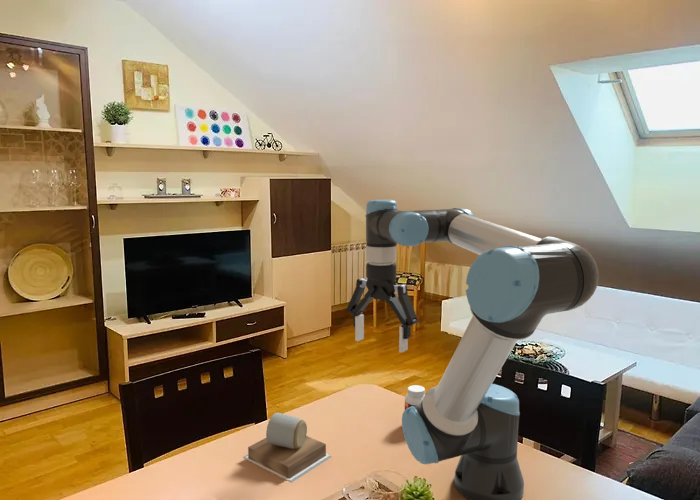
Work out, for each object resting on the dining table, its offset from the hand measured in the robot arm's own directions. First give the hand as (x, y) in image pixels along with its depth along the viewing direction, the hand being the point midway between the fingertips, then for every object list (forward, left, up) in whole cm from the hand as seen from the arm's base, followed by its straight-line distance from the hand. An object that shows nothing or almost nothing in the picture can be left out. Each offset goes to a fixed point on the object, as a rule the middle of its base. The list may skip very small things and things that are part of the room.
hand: (380, 345), depth 135 cm
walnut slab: (+14, +20, -26) cm, 36 cm away
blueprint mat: (+14, +20, -27) cm, 36 cm away
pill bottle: (-2, -14, -27) cm, 30 cm away
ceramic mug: (+15, +19, -24) cm, 33 cm away
